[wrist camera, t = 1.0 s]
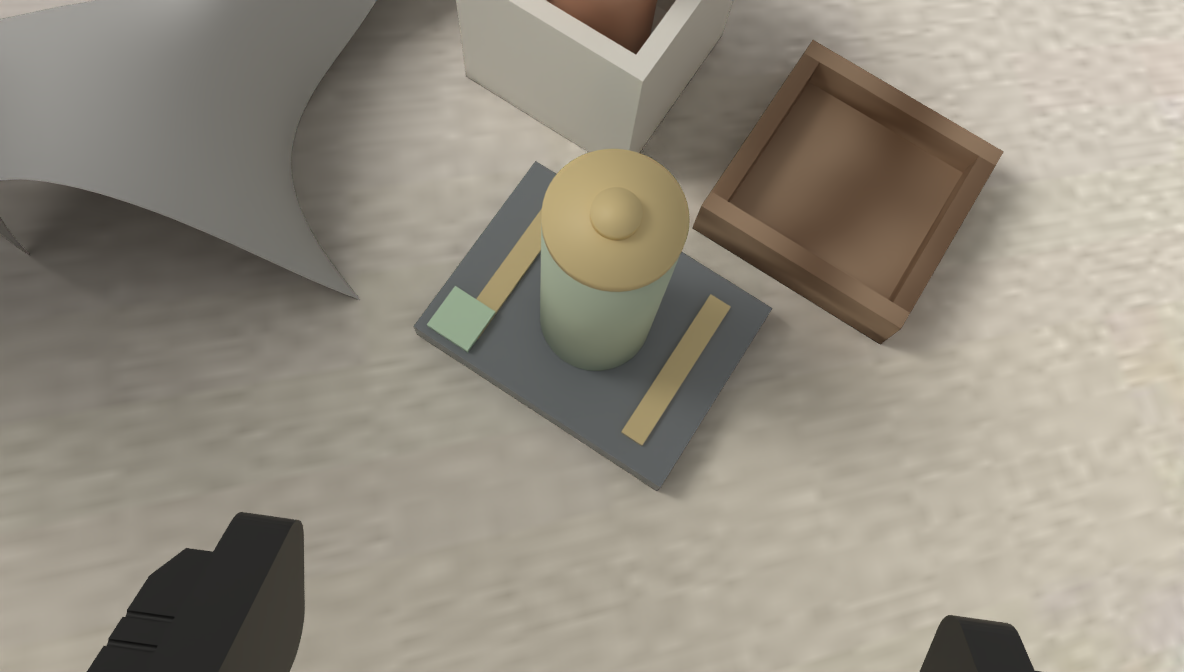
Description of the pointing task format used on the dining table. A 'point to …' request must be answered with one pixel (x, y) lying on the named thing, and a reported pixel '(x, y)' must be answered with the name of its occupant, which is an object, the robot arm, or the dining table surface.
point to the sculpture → (176, 110)
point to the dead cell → (614, 18)
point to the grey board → (581, 397)
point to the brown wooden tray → (848, 192)
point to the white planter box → (587, 65)
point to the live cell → (607, 255)
